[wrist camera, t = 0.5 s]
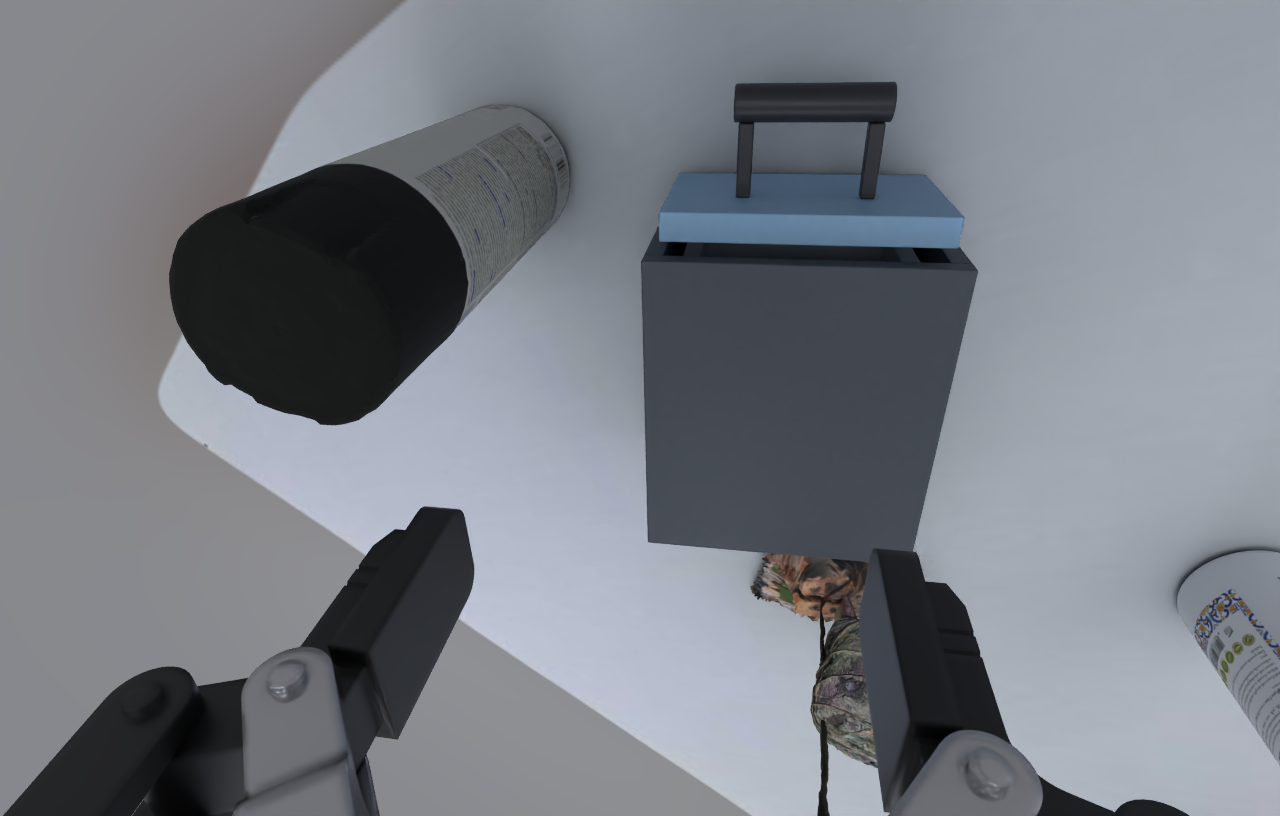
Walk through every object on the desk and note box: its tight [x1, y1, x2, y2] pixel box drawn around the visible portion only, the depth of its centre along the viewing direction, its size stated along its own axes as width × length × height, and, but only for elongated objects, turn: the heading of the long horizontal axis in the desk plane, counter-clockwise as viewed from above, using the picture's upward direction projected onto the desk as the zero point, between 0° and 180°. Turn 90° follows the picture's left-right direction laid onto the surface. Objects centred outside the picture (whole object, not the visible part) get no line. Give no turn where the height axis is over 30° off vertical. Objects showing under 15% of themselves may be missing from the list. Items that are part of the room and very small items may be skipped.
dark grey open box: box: [641, 226, 978, 562], centre depth 34 cm, size 15×13×9 cm
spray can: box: [169, 105, 570, 425], centre depth 27 cm, size 7×7×20 cm
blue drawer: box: [659, 82, 965, 262], centre depth 32 cm, size 18×11×7 cm, turn 1°
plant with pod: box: [750, 553, 878, 816], centre depth 37 cm, size 8×11×20 cm
